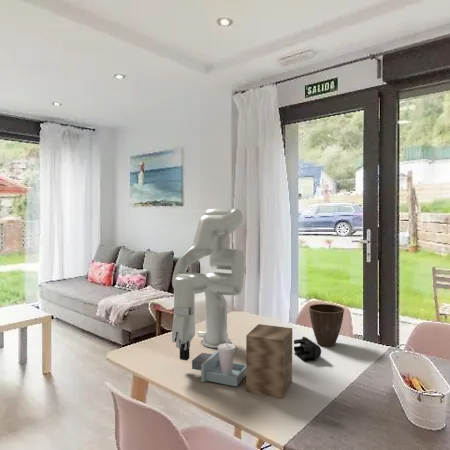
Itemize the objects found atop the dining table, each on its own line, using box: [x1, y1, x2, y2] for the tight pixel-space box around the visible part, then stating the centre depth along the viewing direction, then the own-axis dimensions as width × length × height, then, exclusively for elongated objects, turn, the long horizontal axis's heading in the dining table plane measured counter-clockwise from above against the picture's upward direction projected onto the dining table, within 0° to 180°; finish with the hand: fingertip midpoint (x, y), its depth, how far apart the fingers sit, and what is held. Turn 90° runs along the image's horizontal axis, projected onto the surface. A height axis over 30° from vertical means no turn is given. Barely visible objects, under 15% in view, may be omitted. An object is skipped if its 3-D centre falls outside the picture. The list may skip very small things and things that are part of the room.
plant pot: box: [308, 303, 345, 348], centre depth 166 cm, size 15×15×16 cm
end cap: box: [293, 336, 322, 363], centre depth 151 cm, size 10×7×7 cm
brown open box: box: [245, 323, 293, 399], centre depth 126 cm, size 12×13×19 cm
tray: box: [191, 350, 246, 387], centre depth 134 cm, size 18×14×6 cm
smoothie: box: [217, 333, 237, 375], centre depth 133 cm, size 6×6×14 cm
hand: (184, 359), depth 139 cm, fingers closed
